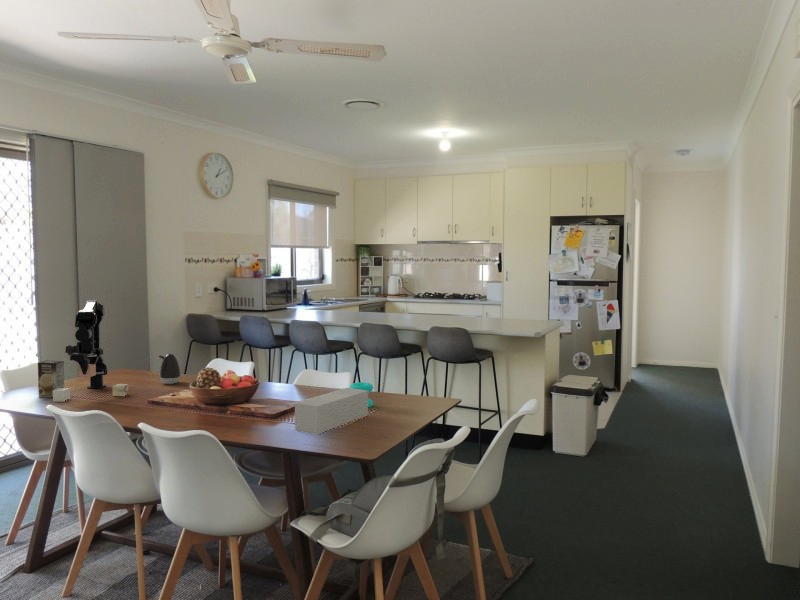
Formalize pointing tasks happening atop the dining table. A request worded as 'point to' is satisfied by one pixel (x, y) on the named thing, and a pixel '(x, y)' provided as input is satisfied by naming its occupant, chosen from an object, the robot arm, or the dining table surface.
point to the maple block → (120, 389)
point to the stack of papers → (330, 410)
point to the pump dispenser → (169, 369)
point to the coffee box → (50, 377)
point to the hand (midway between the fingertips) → (87, 373)
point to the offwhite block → (61, 394)
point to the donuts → (363, 387)
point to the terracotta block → (88, 371)
